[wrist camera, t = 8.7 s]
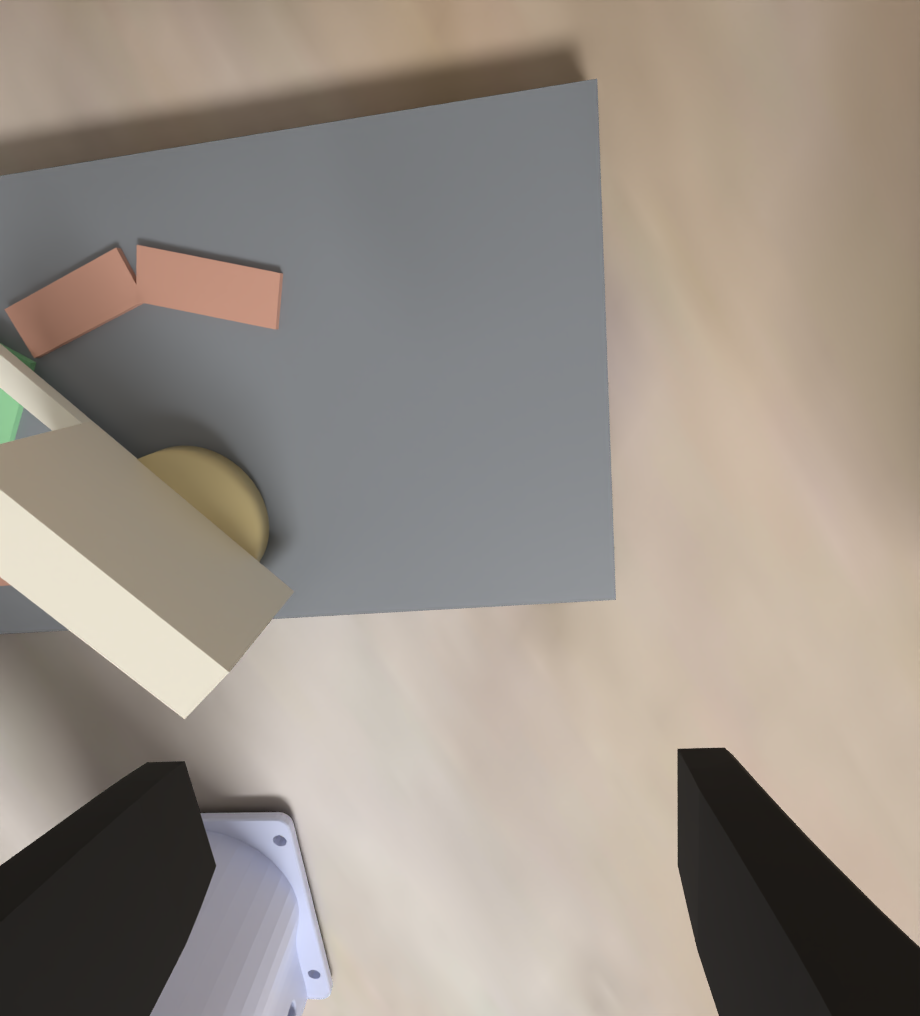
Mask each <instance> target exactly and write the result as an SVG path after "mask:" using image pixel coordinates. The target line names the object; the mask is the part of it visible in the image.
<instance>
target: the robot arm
mask: <svg viewBox="0 0 920 1016" xmlns="http://www.w3.org/2000/svg"><path fill="white" fill-rule="evenodd" d="M281 836H283V837H281ZM678 868H679V873H680V877H681V881H682V886H683V890H684V895H685V899H686V904H687V908H688V912H689V916H690V921H691V925H692V929H693V933H694V937H695V942H696V946H697V950H698V953H699V956H700V959H701V962H702V965H703V968H704V972H705V975H706V978H707V981H708V984H709V987H710V990H711V993H712V996H713V999H714V1002H715V1005H716V1008H717V1011H718V1014H719V1016H920V947H919V946H918V945H917V944H916V943H915V942H913V941H912V940H911V939H910V938H909V937H908V936H907V935H906V934H905V933H904V932H903V931H902V930H901V929H900V928H899V927H898V926H897V925H896V924H894V923H893V922H892V921H891V920H890V919H889V918H888V917H887V916H886V915H885V914H884V913H883V912H882V911H881V910H880V909H879V908H878V907H877V906H876V905H875V904H874V903H873V902H872V901H871V900H870V899H869V898H868V897H867V896H866V895H865V894H864V893H863V892H862V891H861V890H860V889H859V888H858V887H857V886H856V885H855V884H854V883H853V882H852V881H851V880H850V879H849V878H848V877H847V876H846V875H845V874H844V873H843V872H842V871H841V870H840V869H839V868H838V867H837V866H836V865H835V864H834V863H833V862H832V861H831V860H830V859H829V858H828V857H827V856H826V855H825V854H824V853H823V852H822V851H821V850H820V849H819V848H818V847H817V846H816V845H815V844H814V843H813V842H812V841H811V840H810V839H809V838H808V837H807V836H806V835H805V833H804V832H803V831H802V830H801V829H800V828H799V827H798V826H797V825H796V824H795V823H794V822H793V821H792V820H791V819H790V818H789V816H788V815H787V814H786V813H785V812H784V811H783V810H782V809H781V808H780V807H779V806H778V805H777V804H776V802H775V801H774V800H773V799H772V798H771V797H770V796H769V795H768V794H767V793H766V792H765V790H764V789H763V788H762V787H761V786H760V785H759V784H758V783H757V782H756V781H755V779H754V778H753V777H752V776H751V775H750V774H749V773H748V772H747V770H746V769H745V768H744V767H743V766H742V765H741V764H740V763H739V761H738V760H737V759H736V758H735V757H734V756H733V755H732V754H731V753H730V752H729V751H728V750H726V749H725V748H693V749H678ZM332 987H333V982H332V978H331V974H330V970H329V966H328V961H327V957H326V953H325V949H324V945H323V941H322V937H321V933H320V929H319V925H318V921H317V917H316V913H315V909H314V905H313V901H312V897H311V892H310V888H309V884H308V880H307V876H306V872H305V868H304V864H303V860H302V856H301V852H300V848H299V844H298V840H297V836H296V832H295V827H294V823H293V821H292V819H291V818H290V817H289V816H288V815H287V814H285V813H282V812H248V813H200V811H199V807H198V804H197V801H196V797H195V794H194V791H193V787H192V784H191V781H190V778H189V774H188V771H187V768H186V764H185V761H183V762H147V763H146V764H144V765H143V766H141V767H139V768H138V769H136V770H135V771H133V772H132V773H130V774H129V775H127V776H126V777H124V778H123V779H121V780H120V781H118V782H117V783H115V784H114V785H112V786H111V787H109V788H108V789H107V790H105V791H104V792H102V793H101V794H100V795H98V796H97V797H95V798H94V799H92V800H91V801H90V802H88V803H87V804H85V805H84V806H83V807H81V808H80V809H79V810H77V811H76V812H74V813H73V814H72V815H70V816H69V817H67V818H66V819H65V820H63V821H62V822H60V823H59V824H58V825H56V826H55V827H54V828H52V829H51V830H49V831H48V832H47V833H45V834H44V835H42V836H41V837H40V838H38V839H37V840H35V841H34V842H33V843H31V844H30V845H29V846H27V847H26V848H24V849H23V850H22V851H20V852H19V853H17V854H16V855H15V856H13V857H12V858H10V859H9V860H8V861H6V862H5V863H3V864H2V865H1V866H0V1016H302V1014H303V1011H304V1008H305V1004H306V1001H307V999H325V998H327V997H329V995H330V994H331V990H332Z"/></svg>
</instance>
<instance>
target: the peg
mask: <svg viewBox="0 0 920 1016" xmlns="http://www.w3.org/2000/svg"><path fill="white" fill-rule="evenodd" d="M0 388H1V389H2V390H3V391H5V392H6V393H7V394H8V395H10V396H11V397H12V398H13V399H14V400H16V401H17V402H18V403H19V404H20V405H22V406H23V407H24V408H25V409H26V410H28V411H29V412H30V413H31V414H32V415H34V416H35V417H36V418H37V419H39V420H40V421H41V422H42V423H43V424H45V425H46V426H47V427H48V428H49V429H51V430H52V431H50V432H46V433H42V434H38V435H34V436H30V437H26V438H22V439H18V440H14V441H10V442H6V443H2V444H0V577H1V578H2V579H3V580H5V581H6V582H7V583H9V584H10V585H11V586H13V587H14V588H15V589H16V590H18V591H19V592H20V593H22V594H23V595H24V596H25V597H27V598H28V599H29V600H31V601H32V602H33V603H35V604H36V605H37V606H38V607H40V608H41V609H42V610H44V611H45V612H46V613H47V614H49V615H50V616H51V617H53V618H54V619H55V620H57V621H58V622H59V623H60V624H62V625H63V626H64V627H66V628H67V629H68V630H69V631H71V632H72V633H73V634H75V635H76V636H77V637H79V638H80V639H81V640H82V641H84V642H85V643H86V644H88V645H89V646H90V647H91V648H93V649H94V650H95V651H97V652H98V653H99V654H101V655H102V656H103V657H104V658H106V659H107V660H108V661H110V662H111V663H112V664H113V665H115V666H116V667H117V668H119V669H120V670H121V671H123V672H124V673H125V674H126V675H128V676H129V677H130V678H132V679H133V680H134V681H136V682H137V683H138V684H139V685H141V686H142V687H143V688H145V689H146V690H147V691H148V692H150V693H151V694H152V695H154V696H155V697H156V698H158V699H159V700H160V701H161V702H163V703H164V704H165V705H167V706H168V707H169V708H170V709H172V710H173V711H174V712H176V713H177V714H178V715H180V716H181V717H182V718H183V719H185V718H186V717H187V716H188V715H189V714H190V713H191V712H192V711H193V710H194V709H195V708H196V707H197V706H198V705H199V704H200V702H201V701H202V700H203V699H204V698H205V697H206V696H207V695H208V694H209V693H210V692H211V691H212V690H213V689H214V688H215V687H216V686H217V685H218V683H219V682H220V681H221V680H222V679H223V678H224V677H225V676H226V675H227V674H228V673H229V672H230V671H231V669H232V668H233V667H234V666H235V664H236V663H237V662H238V661H239V659H240V658H241V657H242V656H243V654H244V653H245V652H246V651H247V649H248V648H249V647H250V646H251V645H252V643H253V642H254V641H255V640H256V638H257V637H258V636H259V635H260V633H261V632H262V631H263V630H264V628H265V627H266V626H267V625H268V624H269V622H270V621H271V620H272V619H273V617H274V616H275V615H276V614H277V612H278V611H279V610H280V609H281V607H282V606H283V605H284V604H285V602H286V601H287V600H288V599H289V598H290V596H291V595H292V594H293V593H294V591H293V590H292V589H291V588H290V587H288V586H287V585H286V584H285V583H284V582H282V581H281V580H280V579H279V578H278V577H276V576H275V575H274V574H273V573H272V572H271V571H269V570H268V569H267V568H266V567H265V566H263V565H262V564H261V563H260V560H261V558H262V557H263V555H264V553H265V550H266V547H267V543H268V538H269V518H268V514H267V509H266V506H265V503H264V500H263V498H262V496H261V494H260V492H259V490H258V489H257V487H256V486H255V484H254V482H253V481H252V480H251V479H250V478H249V476H248V475H247V474H246V473H245V472H244V471H243V470H242V469H241V468H240V467H239V466H237V465H236V464H235V463H233V462H232V461H231V460H229V459H228V458H226V457H224V456H223V455H221V454H218V453H216V452H214V451H211V450H208V449H205V448H201V447H195V446H173V447H169V448H165V449H162V450H159V451H157V452H154V453H152V454H149V455H146V456H144V457H141V458H139V459H137V458H136V457H135V456H134V455H132V454H131V453H130V452H129V451H128V450H126V449H125V448H124V447H123V446H122V445H120V444H119V443H118V442H117V441H116V440H115V439H113V438H112V437H111V436H110V435H109V434H107V433H106V432H105V431H104V430H103V429H101V428H100V427H99V426H98V425H97V424H95V423H94V422H93V421H92V420H91V419H90V418H88V417H87V416H86V415H85V414H84V413H82V412H81V411H80V410H79V409H78V408H76V407H75V406H74V405H73V404H72V403H71V402H69V401H68V400H67V399H66V398H65V397H63V396H62V395H61V394H60V393H59V392H57V391H56V390H55V389H54V388H53V387H51V386H50V385H49V384H48V383H47V382H46V381H44V380H43V379H42V378H41V377H40V376H38V375H37V374H36V373H35V372H34V371H32V370H31V369H30V368H29V367H28V366H26V365H25V364H24V363H23V362H22V361H21V360H19V359H18V358H17V357H16V356H15V355H13V354H12V353H11V352H10V351H9V350H7V349H6V348H5V347H4V346H3V345H2V344H0Z"/></svg>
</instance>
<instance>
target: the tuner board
mask: <svg viewBox="0 0 920 1016" xmlns="http://www.w3.org/2000/svg"><path fill="white" fill-rule="evenodd" d="M0 344H2V345H3V346H4V347H5V348H6V349H7V350H9V351H10V352H11V353H12V354H13V355H15V356H16V357H17V358H18V359H19V360H21V361H22V362H23V363H24V364H25V365H26V366H28V367H29V368H30V369H31V370H32V371H34V372H35V373H36V374H37V375H38V376H40V377H41V378H42V379H43V380H44V381H46V382H47V383H48V384H49V385H50V386H51V387H53V388H54V389H55V390H56V391H57V392H59V393H60V394H61V395H62V396H63V397H65V398H66V399H67V400H68V401H69V402H71V403H72V404H73V405H74V406H75V407H76V408H78V409H79V410H80V411H81V412H82V413H84V414H85V415H86V416H87V417H88V418H90V419H91V420H92V421H93V422H94V423H95V424H97V425H98V426H99V427H100V428H101V429H103V430H104V431H105V432H106V433H107V434H109V435H110V436H111V437H112V438H113V439H115V440H116V441H117V442H118V443H119V444H120V445H122V446H123V447H124V448H125V449H126V450H128V451H129V452H130V453H131V454H132V455H134V456H135V457H136V458H137V459H139V458H141V457H144V456H146V455H149V454H152V453H154V452H157V451H159V450H162V449H165V448H169V447H173V446H195V447H201V448H205V449H208V450H211V451H214V452H216V453H218V454H221V455H223V456H224V457H226V458H228V459H229V460H231V461H232V462H233V463H235V464H236V465H237V466H239V467H240V468H241V469H242V470H243V471H244V472H245V473H246V474H247V475H248V476H249V478H250V479H251V480H252V481H253V482H254V484H255V486H256V487H257V489H258V490H259V492H260V494H261V496H262V498H263V500H264V503H265V506H266V509H267V514H268V518H269V538H268V543H267V547H266V550H265V553H264V555H263V557H262V558H261V560H260V563H261V564H262V565H263V566H265V567H266V568H267V569H268V570H269V571H271V572H272V573H273V574H274V575H275V576H276V577H278V578H279V579H280V580H281V581H282V582H284V583H285V584H286V585H287V586H288V587H290V588H291V589H292V590H293V591H294V593H293V594H292V595H291V596H290V598H289V599H288V600H287V601H286V602H285V604H284V605H283V606H282V607H281V609H280V610H279V611H278V612H277V614H276V615H275V616H274V617H273V619H280V618H298V617H316V616H334V615H352V614H370V613H387V612H405V611H423V610H441V609H459V608H476V607H494V606H512V605H530V604H548V603H566V602H583V601H601V600H616V591H615V563H614V536H613V508H612V480H611V452H610V424H609V396H608V368H607V340H606V312H605V284H604V257H603V229H602V201H601V173H600V145H599V117H598V89H597V79H592V80H586V81H580V82H574V83H568V84H562V85H556V86H549V87H543V88H537V89H531V90H525V91H519V92H513V93H506V94H500V95H494V96H488V97H482V98H476V99H470V100H463V101H457V102H451V103H445V104H439V105H433V106H427V107H420V108H414V109H408V110H402V111H396V112H390V113H383V114H377V115H371V116H365V117H359V118H353V119H347V120H340V121H334V122H328V123H322V124H316V125H310V126H304V127H297V128H291V129H285V130H279V131H273V132H267V133H261V134H254V135H248V136H242V137H236V138H230V139H224V140H218V141H211V142H205V143H199V144H193V145H187V146H181V147H175V148H168V149H162V150H156V151H150V152H144V153H138V154H132V155H125V156H119V157H113V158H107V159H101V160H95V161H89V162H82V163H76V164H70V165H64V166H58V167H52V168H45V169H39V170H33V171H27V172H21V173H15V174H9V175H2V176H0ZM50 431H52V430H51V429H49V428H48V427H47V426H46V425H45V424H43V423H42V422H41V421H40V420H39V419H37V418H36V417H35V416H34V415H32V414H31V413H30V412H29V411H28V410H26V409H25V408H24V407H23V406H22V405H20V404H19V403H18V402H17V401H16V400H14V399H13V398H12V397H11V396H10V395H8V394H7V393H6V392H5V391H3V390H2V389H1V388H0V444H2V443H6V442H10V441H14V440H18V439H22V438H26V437H30V436H34V435H38V434H42V433H46V432H50ZM67 630H68V629H67V628H66V627H64V626H63V625H62V624H60V623H59V622H58V621H57V620H55V619H54V618H53V617H51V616H50V615H49V614H47V613H46V612H45V611H44V610H42V609H41V608H40V607H38V606H37V605H36V604H35V603H33V602H32V601H31V600H29V599H28V598H27V597H25V596H24V595H23V594H22V593H20V592H19V591H18V590H16V589H15V588H14V587H13V586H11V585H10V584H9V583H7V582H6V581H5V580H3V579H2V578H1V577H0V634H13V633H31V632H49V631H67Z"/></svg>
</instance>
